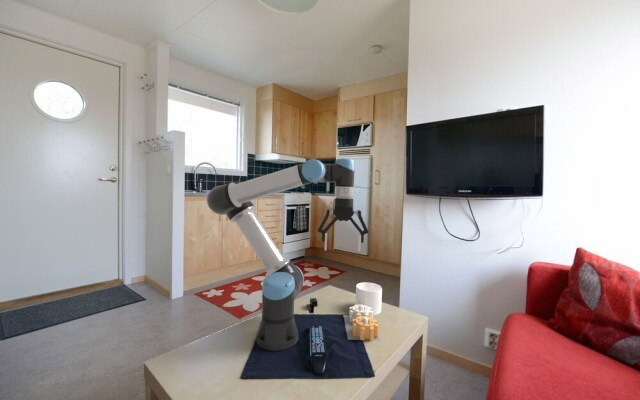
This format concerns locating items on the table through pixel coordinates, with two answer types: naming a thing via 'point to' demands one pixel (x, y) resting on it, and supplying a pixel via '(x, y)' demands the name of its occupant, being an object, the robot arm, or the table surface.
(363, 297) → the cup
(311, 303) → the black boxy piece
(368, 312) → the gear
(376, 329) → the gear
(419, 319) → the table surface
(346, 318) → the gear board
